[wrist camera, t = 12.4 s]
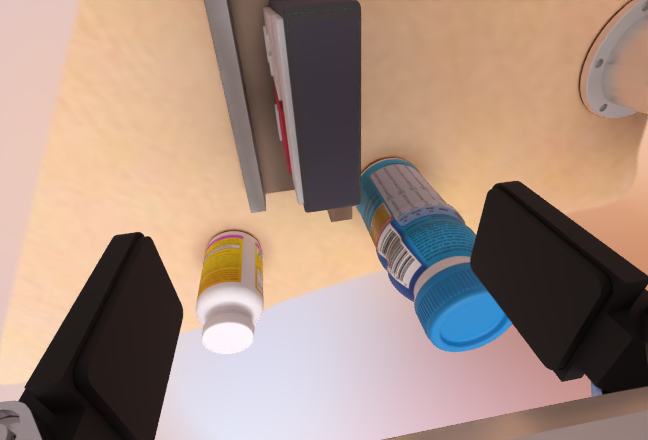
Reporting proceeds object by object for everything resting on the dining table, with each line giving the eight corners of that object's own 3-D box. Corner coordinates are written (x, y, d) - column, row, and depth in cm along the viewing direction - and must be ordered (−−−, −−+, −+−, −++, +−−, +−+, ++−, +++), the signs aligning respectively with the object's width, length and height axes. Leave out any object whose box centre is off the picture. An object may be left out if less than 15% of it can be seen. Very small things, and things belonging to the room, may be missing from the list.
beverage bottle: (401, 140, 37) (517, 260, 20) (430, 192, 41) (544, 324, 25) (337, 183, 38) (397, 326, 22) (372, 228, 43) (443, 374, 27)
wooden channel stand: (323, -115, 24) (348, -153, 18) (335, 179, 38) (352, 219, 31) (188, -109, 23) (161, -148, 17) (251, 190, 37) (250, 233, 30)
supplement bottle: (195, 254, 41) (173, 346, 30) (228, 219, 39) (218, 304, 28) (240, 278, 44) (235, 368, 33) (273, 246, 42) (278, 332, 31)
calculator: (258, -1, 26) (264, 7, 14) (311, -5, 27) (362, -1, 15) (277, 133, 33) (293, 218, 21) (321, 128, 33) (361, 207, 21)
